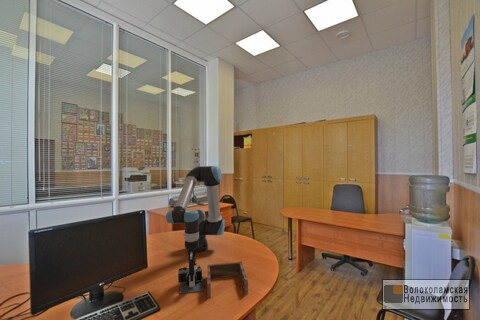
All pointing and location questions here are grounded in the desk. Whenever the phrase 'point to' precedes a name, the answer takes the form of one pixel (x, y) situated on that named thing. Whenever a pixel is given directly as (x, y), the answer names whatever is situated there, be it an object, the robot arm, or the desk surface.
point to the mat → (198, 287)
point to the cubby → (226, 273)
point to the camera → (184, 276)
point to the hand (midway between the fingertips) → (192, 282)
